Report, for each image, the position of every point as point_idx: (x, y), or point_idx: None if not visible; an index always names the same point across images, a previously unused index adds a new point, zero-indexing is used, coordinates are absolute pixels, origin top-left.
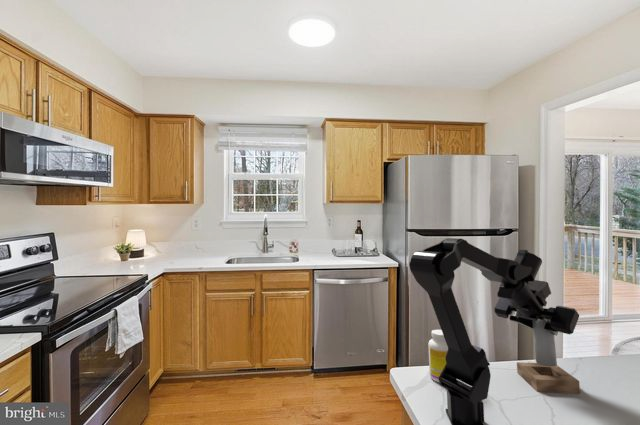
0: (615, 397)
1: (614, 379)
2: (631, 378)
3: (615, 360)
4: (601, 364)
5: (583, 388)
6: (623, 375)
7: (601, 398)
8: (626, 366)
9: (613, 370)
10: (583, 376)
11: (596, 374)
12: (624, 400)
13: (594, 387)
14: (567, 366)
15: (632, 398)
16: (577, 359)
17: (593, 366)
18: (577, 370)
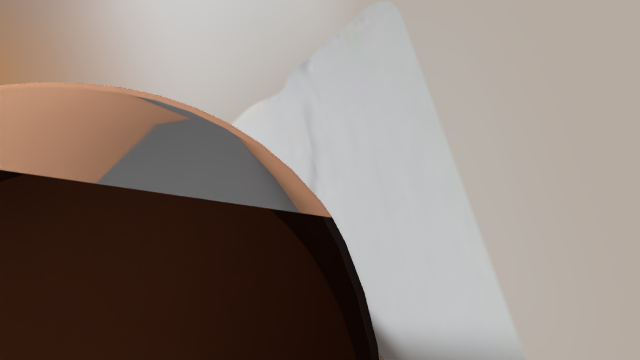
0: (458, 297)
1: (409, 155)
2: (433, 120)
3: (372, 34)
4: (356, 75)
5: (371, 303)
6: (414, 113)
7: (436, 348)
8: (400, 55)
9: (388, 96)
10: (344, 193)
11: (366, 151)
12: (481, 300)
13: (392, 262)
14: (288, 146)
15: (486, 263)
16: (299, 77)
17: (344, 100)
18: (318, 157)
